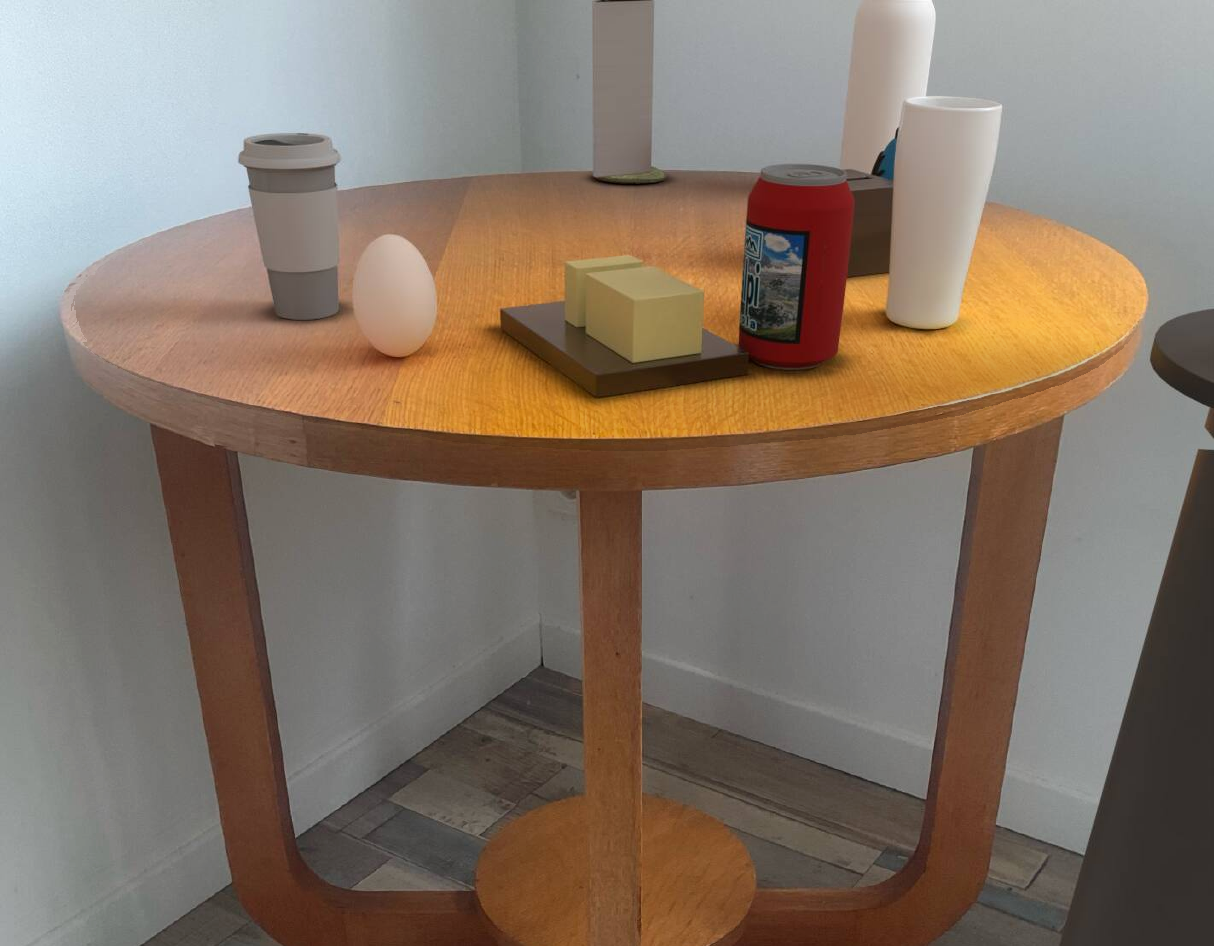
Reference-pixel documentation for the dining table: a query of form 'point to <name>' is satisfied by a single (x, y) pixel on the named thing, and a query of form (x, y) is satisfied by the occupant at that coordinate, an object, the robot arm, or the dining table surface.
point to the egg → (394, 296)
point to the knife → (622, 86)
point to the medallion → (637, 177)
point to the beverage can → (795, 265)
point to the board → (614, 354)
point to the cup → (296, 219)
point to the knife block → (870, 223)
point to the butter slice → (577, 282)
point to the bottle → (884, 74)
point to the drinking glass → (938, 204)
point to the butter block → (644, 313)
